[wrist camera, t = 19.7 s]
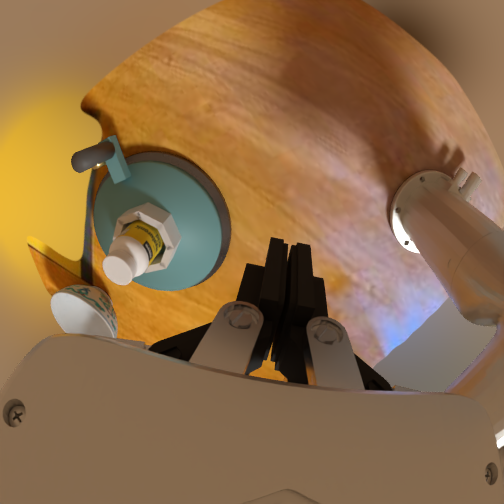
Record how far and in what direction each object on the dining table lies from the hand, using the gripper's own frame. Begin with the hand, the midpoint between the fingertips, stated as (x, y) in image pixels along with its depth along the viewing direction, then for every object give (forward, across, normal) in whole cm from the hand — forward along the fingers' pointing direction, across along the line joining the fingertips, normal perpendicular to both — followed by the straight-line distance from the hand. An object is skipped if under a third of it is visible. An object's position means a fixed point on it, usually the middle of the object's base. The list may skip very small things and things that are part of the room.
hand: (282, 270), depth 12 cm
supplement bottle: (+21, +17, +12) cm, 29 cm away
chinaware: (+23, +31, +31) cm, 50 cm away
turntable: (+22, +18, +10) cm, 30 cm away
